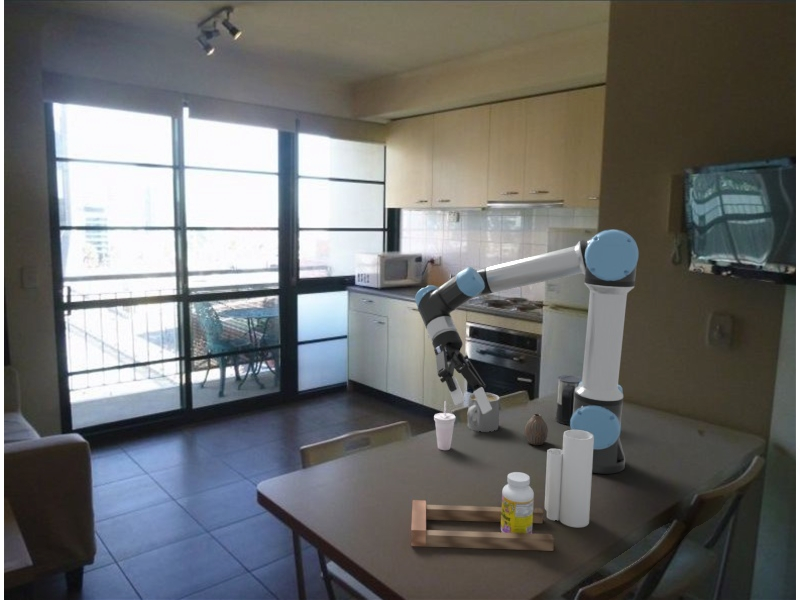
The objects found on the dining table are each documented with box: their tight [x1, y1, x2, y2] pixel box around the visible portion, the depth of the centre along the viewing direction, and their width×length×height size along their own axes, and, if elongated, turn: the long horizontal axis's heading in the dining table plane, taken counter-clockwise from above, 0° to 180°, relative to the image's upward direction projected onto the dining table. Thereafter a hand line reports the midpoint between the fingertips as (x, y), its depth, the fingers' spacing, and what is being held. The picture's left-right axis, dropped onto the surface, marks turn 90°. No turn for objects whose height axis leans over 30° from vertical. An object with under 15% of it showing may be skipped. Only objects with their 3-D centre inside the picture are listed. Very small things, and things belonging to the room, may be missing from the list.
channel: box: [410, 499, 555, 552], centre depth 127 cm, size 29×13×4 cm, turn 88°
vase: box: [524, 413, 549, 446], centre depth 178 cm, size 7×7×9 cm
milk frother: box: [555, 374, 582, 426], centre depth 195 cm, size 14×16×15 cm
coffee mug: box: [466, 392, 500, 433], centre depth 190 cm, size 13×10×10 cm
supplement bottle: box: [500, 471, 535, 534], centre depth 126 cm, size 7×7×13 cm
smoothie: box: [433, 400, 457, 451], centre depth 173 cm, size 6×6×14 cm
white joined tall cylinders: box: [544, 429, 594, 529], centre depth 133 cm, size 11×7×20 cm, turn 43°
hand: (474, 407), depth 146 cm, fingers open, 13 cm apart
